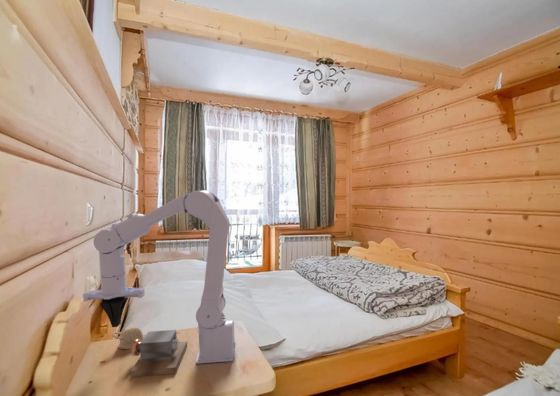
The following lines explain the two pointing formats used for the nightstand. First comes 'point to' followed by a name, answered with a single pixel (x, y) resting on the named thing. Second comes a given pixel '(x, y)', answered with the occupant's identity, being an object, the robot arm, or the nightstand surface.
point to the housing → (159, 354)
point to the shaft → (136, 346)
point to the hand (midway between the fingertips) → (116, 325)
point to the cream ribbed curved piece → (128, 337)
